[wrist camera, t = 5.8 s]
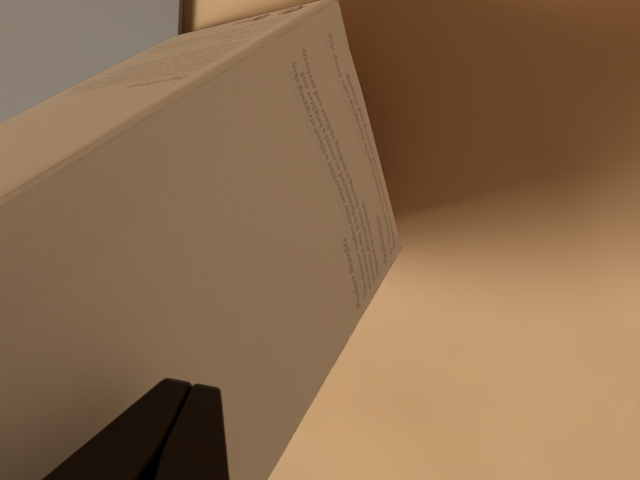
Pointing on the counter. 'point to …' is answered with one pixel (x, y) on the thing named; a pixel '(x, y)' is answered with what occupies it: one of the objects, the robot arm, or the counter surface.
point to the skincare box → (189, 237)
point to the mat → (73, 43)
